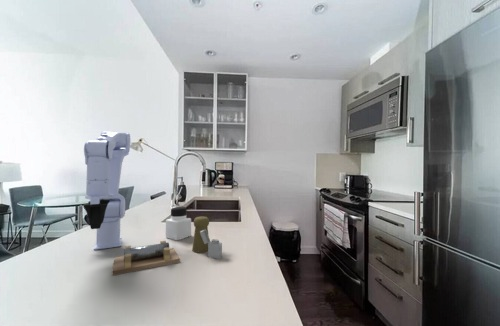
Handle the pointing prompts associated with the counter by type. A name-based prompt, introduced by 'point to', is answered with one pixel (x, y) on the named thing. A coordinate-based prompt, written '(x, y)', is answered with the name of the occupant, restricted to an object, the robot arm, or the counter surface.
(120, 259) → the stand
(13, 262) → the counter surface
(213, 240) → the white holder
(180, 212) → the medicine bottle
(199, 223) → the cork
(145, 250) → the tube
